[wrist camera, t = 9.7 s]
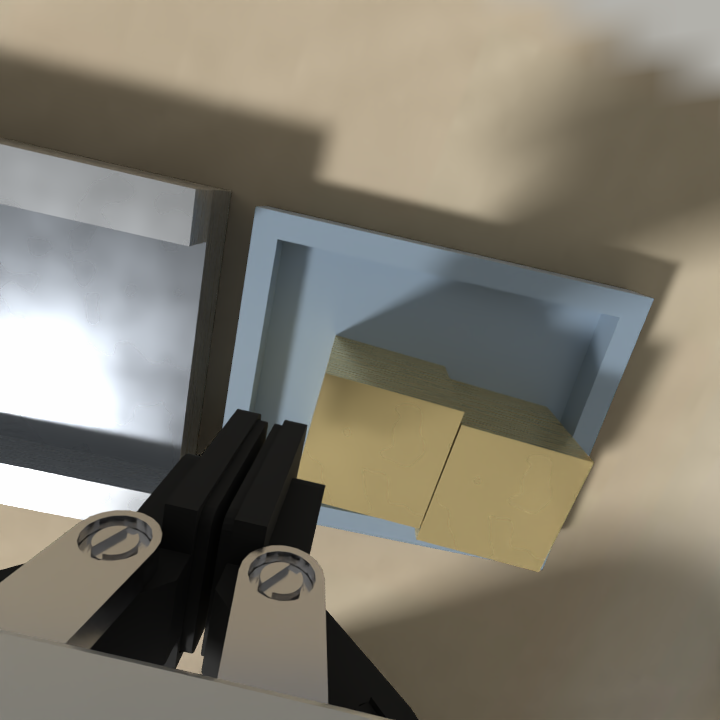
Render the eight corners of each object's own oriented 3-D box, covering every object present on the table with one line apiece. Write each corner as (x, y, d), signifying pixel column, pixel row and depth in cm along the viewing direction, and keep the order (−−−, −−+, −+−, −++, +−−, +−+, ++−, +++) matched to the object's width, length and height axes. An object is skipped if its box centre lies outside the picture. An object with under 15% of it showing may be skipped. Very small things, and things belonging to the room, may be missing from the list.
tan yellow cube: (547, 407, 18) (594, 462, 14) (505, 498, 19) (538, 572, 15) (442, 376, 18) (461, 424, 14) (407, 470, 19) (415, 539, 15)
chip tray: (628, 289, 17) (653, 298, 16) (529, 542, 20) (542, 570, 19) (266, 205, 16) (255, 206, 15) (223, 479, 20) (210, 503, 18)
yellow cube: (444, 366, 18) (464, 411, 14) (409, 462, 19) (418, 528, 15) (335, 334, 17) (325, 373, 14) (307, 434, 19) (290, 494, 15)
